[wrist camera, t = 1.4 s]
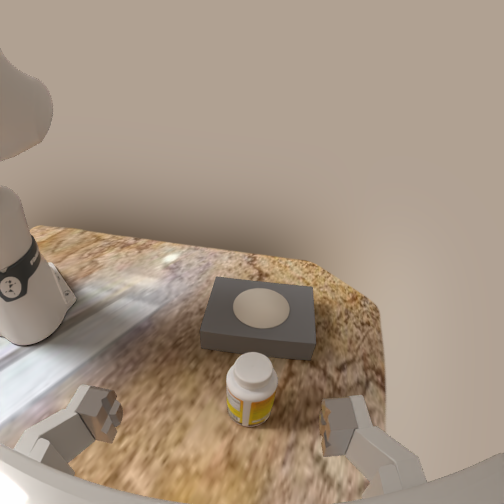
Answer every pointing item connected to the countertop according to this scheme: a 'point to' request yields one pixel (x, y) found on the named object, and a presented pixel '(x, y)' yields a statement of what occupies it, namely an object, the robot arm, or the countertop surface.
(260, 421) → the supplement bottle
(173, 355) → the countertop surface
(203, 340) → the block
